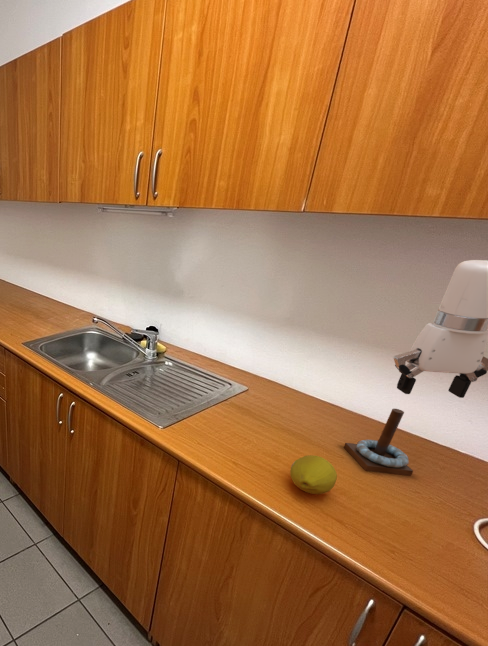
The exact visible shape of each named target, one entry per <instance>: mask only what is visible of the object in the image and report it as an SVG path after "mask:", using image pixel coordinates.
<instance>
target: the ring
mask: <svg viewBox="0 0 488 646" xmlns="http://www.w3.org/2000/svg"><path fill="white" fill-rule="evenodd" d="M377 442H378V440H376V439H362V440H359V441H358V442H356V444H357V450H358V451H359V452H360V453H361V454H362V455H363V456H364V457H365V458H367V459H369V460H371V461H373V462H375V463H378V464H381V465H384V466H388V467H396V468H400V467H403V466H406V465H407V466H408V465H409V464H410V460H409V456H408V454H406V453H405V452H404V451H402V449H400V448H398V447H396V446H395V445H392V444H391V443H390V444H389V447H388V449H387V451H386V452H388V453H390V454H392V455H393V456H394V457H395V458H396V459H393V458H387V457H384V456H380V455H378V454H376V453H374V452H372V451H370V450H369V449H368V448H375V447H376V445H377Z"/></svg>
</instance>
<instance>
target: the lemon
mask: <svg viewBox="0 0 488 646" xmlns="http://www.w3.org/2000/svg"><path fill="white" fill-rule="evenodd" d="M289 471H290V472H289V474H290V479H291V481H292V482H293V484H294V485H295V486H296V487H297V488H298V489H300V490H301V491H303V492H305V493H306V494H310V495H311V494H312V495H323V494H326V493H329V492H331V490H332V489H333V488H334V487H335V485H336V482H337V479H338V473H337V470H336V469H335V466H333V464H332V463H331V462H330V461H328V459H326V458H324V457H322V456H319V455H312V454H310V455H309V454H307V455H304V456H301V457H299V458H297V459H296V460H295V461H293V462H292V464H291V466H290V470H289Z"/></svg>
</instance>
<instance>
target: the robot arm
mask: <svg viewBox="0 0 488 646" xmlns="http://www.w3.org/2000/svg"><path fill="white" fill-rule="evenodd" d="M443 294H444V295H443V296H442V299H441V302H440V304H439V307H438V309H437V311H436V313H435V316H434V318H433V321H432V322H429V323H428V322H427V323H426V324H425V326H423V328H422V329H421V331H420V332H419V333H418V335H417V337H416V338H415V340H414V342H413V344H412V346H411V348H410V349H409V351H406V352H402V353H399V354H396V355H394V356H393V361H394V366H395V368H396V369H397V370H398V372H399V373H400V376H399V378H398V381H397V384H396V389H397V390H399V391H400V392H401V393H404V394H405V395H410V394H411V393H412V391H413V388H414V386H415V384H416V382H417V379H416V378H415V377H416V376H418V375H420V374H421V373H424V372H428V373H429V372H430V373H444V374H447V373H448V374H455V376H454V377H453V379H452V381H451V383H450V386H449V387H448V392H449V393H450V394H452V395H454V396H456V397H458V398H460V399H462V398H463V399H464V398H465V396H466V394H467V393H468V391H469V388H470V386H471V384H472V383H474V382H477V381H478V378H480V377H482V376H485V375H486V374H487V373H488V358H487V357H485V356H484V355H485V352H486V350H487V346H488V260H487V259H469V260H464V261H462V262H459V263H458V264H457V265H456V267H455V268H454V270H453V272H452V275H451V277H450V280H449V283H448V285H447V287H446V290H445V292H444V293H443ZM406 362H407V364H406ZM457 374H458V375H457Z"/></svg>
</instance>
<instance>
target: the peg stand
mask: <svg viewBox="0 0 488 646" xmlns="http://www.w3.org/2000/svg"><path fill="white" fill-rule="evenodd" d="M404 414H405V411H404V410H402V409H399V408H392V409H391V412H390V413H389V415H388V418H387V420H386V422H385V424H384V427H383V429H382V431H381V432H380V433H381V434H380V435H379V438H378V440H377V441H378V442H377V445H376V447H375V448H368V449H369V450H370V451H372V452H374V453H376V454H378V455H380V456H384V457H387V458H393V459H396V458H395V457H394V456H393V455H392V454H390V453H388V452H386V451H387V449H388V447H389V444H390V445H391V442H392V440H393V438H394V436H395V433H396V431H397V429H398V428H399V425H400V423H401V421H402V418H403V416H404ZM343 449H344V450H345V451H346V452H347V453H348V454H349V455H350V456H351V457H352V458H353V460H355V461H356V462H357V463H358V465H360V466H361V467H362V468H363V470H364V471H366V472H374V473H381V474H389V475H390V474H391V475H399V476H400V475H401V476H409V477H411V476H412V475H413V472H414V470H413V469H412V468H411V467H410V466H408V465H406V466H403V467H400V468H396V467H388V466H384V465H381V464H378V463H375V462H373V461H371V460H369V459H367V458H365V457H364V456H363V455H362V454H361V453H360V452H359V451H358V450H357V443H354V442H353V443H351V442H345V443H344V445H343Z"/></svg>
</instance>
